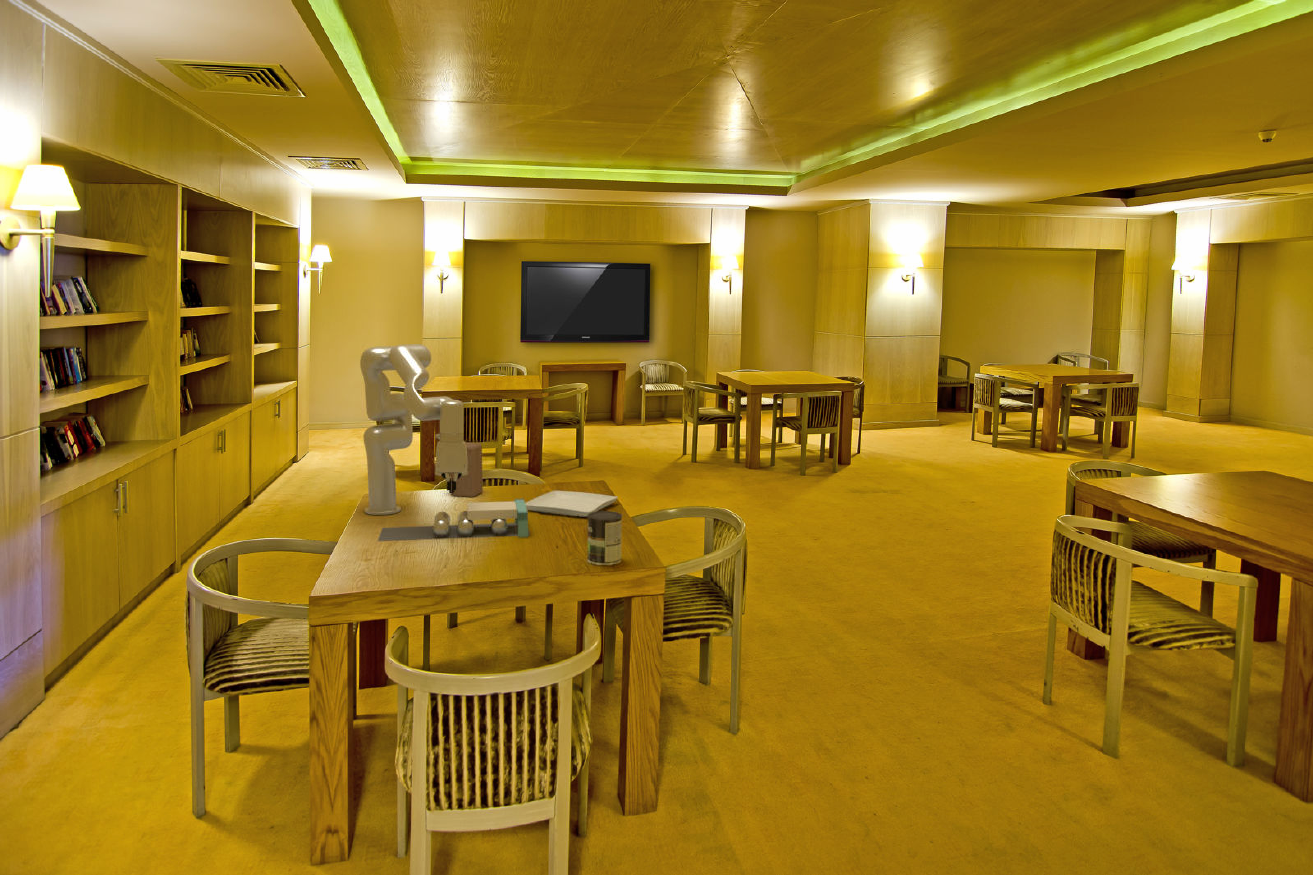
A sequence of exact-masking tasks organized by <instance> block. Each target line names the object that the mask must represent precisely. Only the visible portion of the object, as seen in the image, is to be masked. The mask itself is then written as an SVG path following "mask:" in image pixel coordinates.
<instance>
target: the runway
mask: <svg viewBox="0 0 1313 875" xmlns="http://www.w3.org/2000/svg"><path fill="white" fill-rule="evenodd" d="M514 501H515V503H516V507H517V518H514V522H508V523H507V527H508V530H507V532H506V534H504V535H502V536H501V537H518V538H528V537H529V536H531V535H530V534H531V533H530V531H529V530H530V529H529V524H528V522H529V521H528V520H529V519H528V518H529V517H528V516H529V515H528V509H527V508H526V505H525V503H526V502H525V499H524V498H514ZM433 528H434V525H428V526H427V525H426V526H421V525H420V526H402V527H401V526H398V527H397V526H396V527H395V526H394V527H382V528H381V530H380V533H379V536H378V539H377V542H388V541H389V542H391V541H417V540H420V541H421V540H445V539H467V538H468V539H469V538H470V539H471V538H473V539H474V538H494V537H495V538H496V537H499V538H500V536H497V535H495V534H494V533H493V531H492V524H491V523H482V524H481V523H479V524H477V523H475V524H473V528H474V531H473V533H472V535H471V536H469V537H462V536H461V535H459V533H458V524H452V525H451V524H449V533H448V535H447V536H446V537H444V538H438V537H436V536H435V535H434V533H433Z"/></svg>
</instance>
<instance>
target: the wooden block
mask: <svg viewBox="0 0 1313 875" xmlns="http://www.w3.org/2000/svg"><path fill="white" fill-rule="evenodd" d="M482 445H483V444H481V443H476V442H475V443H474V442H466V447H467V463H468V465H467V470H468V475H464V476H461V477H460V478H459V479H458V480H457V481H456V490H454V493H452V478H453V477H454V473H449V476H450V478H451V493H450V495H451V497H460V496H463V497H462V498H464V497H465V498H474V497H477V496H478V495H479V494H482V493H483V489H484V488H483V486H484V485H483V446H482Z"/></svg>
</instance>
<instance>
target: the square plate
mask: <svg viewBox="0 0 1313 875" xmlns="http://www.w3.org/2000/svg"><path fill="white" fill-rule="evenodd" d="M618 498H619V497H618V496H615V495H614V496H613V495H608V494H607V495H606V494H601V493H600V494H598V493H591V492H583V491H582V492H580V491H568V490H567V491H565V490H552V491H550V492H547V493H545V494H541V495H540V496H537V497H535V498H533V499H531V500H528V501H526V502H525V505H526V509H527V511H531V512H532V511H533V512H538V513H541V514H548V513H551V514H550V515H558V514H560V515H561V516H567V515H569V516H570V517H577V516H579V517H583V518H586V517H587V515H588V514H589V513H592V512H598V511H601V510H602V509H604V508H606V507H608V506H610V505H612V504H613V503H614V502H615V501H616V500H618ZM569 516H568V517H569Z"/></svg>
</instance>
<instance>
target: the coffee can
mask: <svg viewBox="0 0 1313 875" xmlns="http://www.w3.org/2000/svg"><path fill="white" fill-rule="evenodd" d="M622 518H623V514H621V513H619V512H616V511H610V510H609V511H606V510H598V511H597V512H592V513H589V514H588V515H587V559H586V560H587V563H589V564H591V563H592V564H591V565H594V564H595V566H602V565H607V566H614V565H613V564H615V565H617V564H616V563H618V564H620V563H621V562H622Z"/></svg>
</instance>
